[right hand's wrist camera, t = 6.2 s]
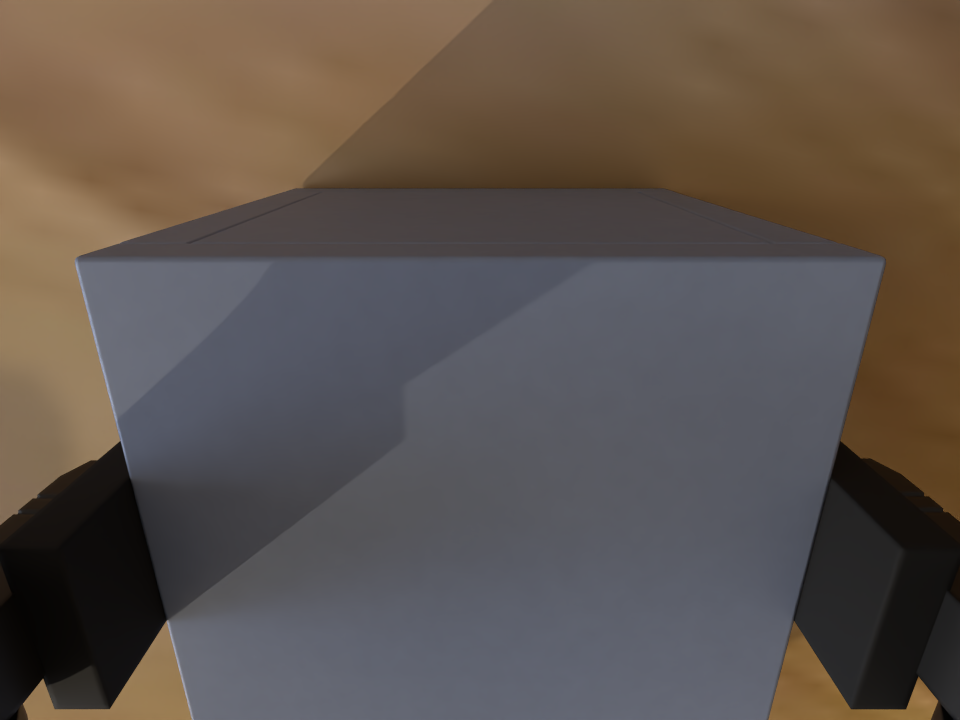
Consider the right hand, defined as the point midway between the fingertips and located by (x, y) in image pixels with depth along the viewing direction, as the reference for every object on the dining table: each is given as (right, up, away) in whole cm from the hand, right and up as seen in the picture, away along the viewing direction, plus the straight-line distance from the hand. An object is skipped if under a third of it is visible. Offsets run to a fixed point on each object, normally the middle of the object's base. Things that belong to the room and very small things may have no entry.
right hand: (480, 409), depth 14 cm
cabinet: (0, -3, +6) cm, 6 cm away
